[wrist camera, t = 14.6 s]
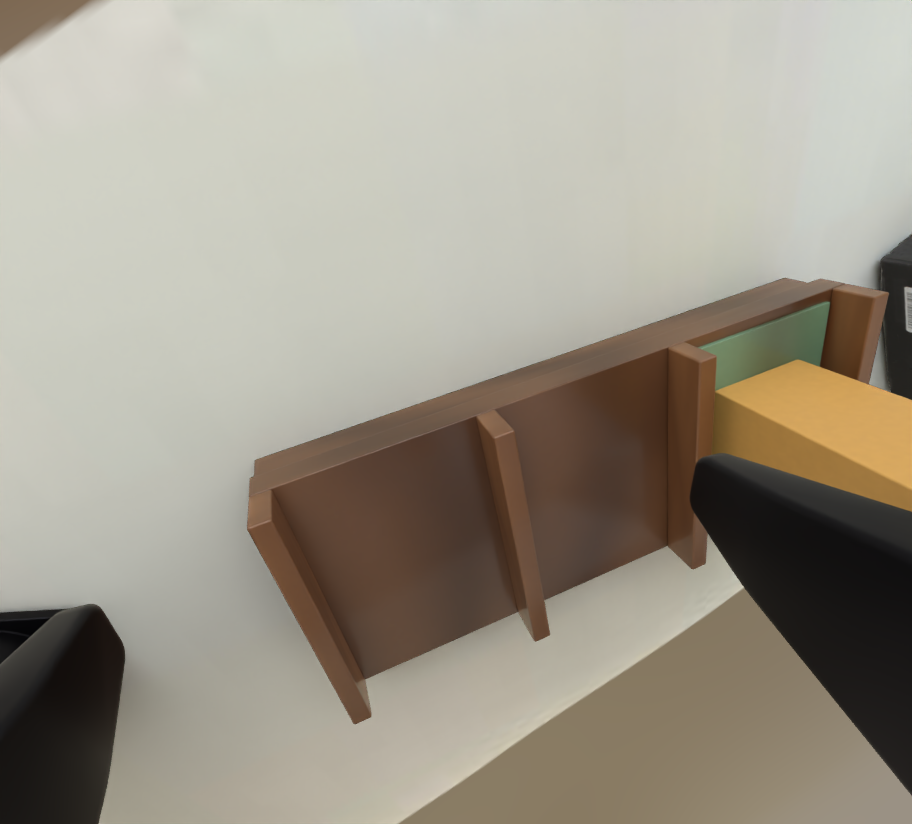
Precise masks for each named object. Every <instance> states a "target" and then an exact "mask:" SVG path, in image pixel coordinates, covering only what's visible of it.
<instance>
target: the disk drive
mask: <svg viewBox="0 0 912 824" xmlns="http://www.w3.org/2000/svg"><path fill="white" fill-rule="evenodd" d="M881 267H882V268H881V291H884V292H888V293H889V295H888V300H887V304H886V309H885V313H884V318H883V321H884V323H883V325H884V335H885V351H886V364H887V375H888V382H889V385H890V386H889V388H890V390H891V393H894V394H896V395H899V396H902V397H905V398H907V399H910V400H912V235H910V236H909V237H908V238H907V239H906V240H904V241H903V242H901V243H899V245H898V246H897V247H896V248H894V249H893V250H892V251H891V253H890V254H887V255H886V256H884V257H883V258H882V259H881Z"/></svg>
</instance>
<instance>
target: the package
mask: <svg viewBox="0 0 912 824" xmlns="http://www.w3.org/2000/svg"><path fill="white" fill-rule="evenodd" d="M717 453H726V454H730V455H733V456H736V457H740V458H743V459H746V460H749V461H752V462H755V463H759V464H762V465H765V466H768V467H771V468H775V469H778V470H781V471H784V472H787V473H790V474H794V475H797V476H800V477H803V478H806V479H809V480H813V481H816V482H819V483H822V484H825V485H829V486H832V487H835V488H838V489H841V490H844V491H848V492H851V493H854V494H857V495H860V496H864V497H867V498H870V499H873V500H876V501H879V502H883V503H886V504H889V505H892V506H895V507H899V508H902V509H905V510H908V511H911V512H912V400H910V399H907V398H905V397H902V396H899V395H896V394H894V393H891V392H888V391H885V390H882V389H880V388H877V387H874V386H871V385H869V384H866V383H863V382H860V381H857V380H855V379H852V378H849V377H846V376H843V375H841V374H838V373H835V372H832V371H830V370H827V369H824V368H821V367H818V366H816V365H813V364H810V363H807V362H805V361H802V360H799V359H797V360H794V361H792V362H789V363H787V364H784V365H781V366H779V367H776V368H774V369H771V370H768V371H766V372H763V373H760V374H758V375H755V376H753V377H750V378H747V379H745V380H742V381H740V382H737V383H734V384H732V385H729V386H727V387H724V388H721V389H719V390H716V391H715V403H714V421H713V440H712V455H713V454H717Z"/></svg>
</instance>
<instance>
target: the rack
mask: <svg viewBox="0 0 912 824" xmlns="http://www.w3.org/2000/svg"><path fill="white" fill-rule="evenodd" d="M888 295H889V293H888V292H884V291H879V290H874V289H869V288H864V287H859V286H854V285H849V284H845V283H840V282H835V281H830V280H825V279H818V280H815V281H812V282H809V283H806V282H801V281H797V280H792V279H787V278H783V279H780V280H777V281H774V282H772V283H769V284H766V285H763V286H760V287H757V288H754V289H751V290H748V291H745V292H742V293H740V294H737V295H734V296H731V297H728V298H725V299H722V300H719V301H716V302H713V303H710V304H708V305H705V306H702V307H699V308H696V309H693V310H690V311H687V312H684V313H681V314H678V315H676V316H673V317H670V318H667V319H664V320H661V321H658V322H655V323H652V324H649V325H646V326H644V327H641V328H638V329H635V330H632V331H629V332H626V333H623V334H620V335H617V336H614V337H612V338H609V339H606V340H603V341H600V342H597V343H594V344H591V345H588V346H585V347H582V348H580V349H577V350H574V351H571V352H568V353H565V354H562V355H559V356H556V357H553V358H550V359H548V360H545V361H542V362H539V363H536V364H533V365H530V366H527V367H524V368H521V369H518V370H516V371H513V372H510V373H507V374H504V375H501V376H498V377H495V378H492V379H489V380H486V381H484V382H481V383H478V384H475V385H472V386H469V387H466V388H463V389H460V390H457V391H454V392H452V393H449V394H446V395H443V396H440V397H437V398H434V399H431V400H428V401H425V402H422V403H420V404H417V405H414V406H411V407H408V408H405V409H402V410H399V411H396V412H393V413H390V414H388V415H385V416H382V417H379V418H376V419H373V420H370V421H367V422H364V423H361V424H358V425H356V426H353V427H350V428H347V429H344V430H341V431H338V432H335V433H332V434H329V435H326V436H324V437H321V438H318V439H315V440H312V441H309V442H306V443H303V444H300V445H297V446H294V447H292V448H289V449H286V450H283V451H280V452H277V453H274V454H271V455H268V456H265V457H262V458H260V459H257V460H255V466H254V477H252V478H250V484H249V506H248V522H247V530H248V532H249V534H250V536H251V537H252V539H253V541H254V543H255V545H256V546H257V548H258V550H259V552H260V554H261V556H262V557H263V559H264V561H265V563H266V565H267V567H268V568H269V570H270V572H271V574H272V576H273V578H274V579H275V581H276V583H277V585H278V587H279V589H280V590H281V592H282V594H283V596H284V598H285V599H286V601H287V603H288V605H289V607H290V609H291V610H292V612H293V614H294V616H295V618H296V620H297V621H298V623H299V625H300V627H301V629H302V631H303V632H304V634H305V636H306V638H307V640H308V641H309V643H310V645H311V647H312V649H313V651H314V652H315V654H316V656H317V658H318V660H319V662H320V663H321V665H322V667H323V669H324V671H325V673H326V674H327V676H328V678H329V680H330V682H331V684H332V685H333V687H334V689H335V691H336V693H337V694H338V696H339V698H340V700H341V702H342V704H343V705H344V707H345V709H346V711H347V713H348V715H349V716H350V718H351V720H352V722H353V724H357V723H359V722H362V721H364V720H366V719H368V718H370V717H371V715H372V714H371V709H370V703H369V698H368V693H367V687H366V682H365V679H367V678H370V677H372V676H374V675H376V674H379V673H381V672H383V671H385V670H388V669H390V668H392V667H394V666H397V665H399V664H401V663H403V662H406V661H408V660H410V659H412V658H415V657H417V656H419V655H421V654H424V653H426V652H428V651H431V650H433V649H435V648H437V647H440V646H442V645H444V644H446V643H449V642H451V641H453V640H455V639H458V638H460V637H462V636H464V635H467V634H469V633H471V632H473V631H476V630H478V629H480V628H482V627H485V626H487V625H489V624H492V623H494V622H496V621H498V620H501V619H503V618H505V617H507V616H510V615H512V614H514V613H516V612H518V613H519V615H520V617H521V618H522V620H523V622H524V624H525V625H526V627H527V629H528V631H529V633H530V634H531V636H532V638H533V640H534V641H535V642H536V641H539V640H541V639H543V638H545V637H547V636H549V635H550V631H549V625H548V619H547V613H546V608H545V602H544V600H546V599H548V598H550V597H553V596H555V595H557V594H559V593H562V592H564V591H566V590H568V589H571V588H573V587H575V586H577V585H580V584H582V583H584V582H586V581H589V580H591V579H593V578H595V577H598V576H600V575H602V574H605V573H607V572H609V571H611V570H614V569H616V568H618V567H620V566H623V565H625V564H627V563H629V562H632V561H634V560H636V559H638V558H641V557H643V556H645V555H647V554H650V553H652V552H654V551H656V550H659V549H661V548H663V547H666V546H668V547H669V548H670V549H671V550H672V551H673V552H674V553H675V554H676V555H677V556H678V557H680V558H681V559H682V560H683V561H684V562H685V563H686V564H687V565H688V566H689V567H690V568H691V569H696V568H698V567H700V566H702V565H704V564H705V563H706V550H707V531H706V530H705V528H704V527H703V525H702V524H701V522H700V521H699V519H698V518H697V516H696V515H695V513H694V512H693V510H692V508H691V505H690V499H689V496H690V490H691V485H692V480H693V475H694V470H695V466H696V463H697V461H698V460H699V459H700V458H702V457H705V456H709V455H712V440H713V421H714V403H715V391H716V390H719V389H721V388H724V387H727V386H729V385H732V384H734V383H737V382H740V381H742V380H745V379H747V378H750V377H753V376H755V375H758V374H760V373H763V372H766V371H768V370H771V369H774V368H776V367H779V366H781V365H784V364H787V363H789V362H792V361H794V360H797V359H799V360H802V361H805V362H807V363H810V364H813V365H816V366H818V367H821V368H824V369H827V370H830V371H832V372H835V373H838V374H841V375H843V376H846V377H849V378H852V379H855V380H857V381H860V382H863V383H866V384H869V380H870V376H871V371H872V367H873V362H874V358H875V353H876V349H877V345H878V340H879V336H880V331H881V327H882V322H883V318H884V313H885V309H886V304H887V300H888Z"/></svg>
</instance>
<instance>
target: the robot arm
mask: <svg viewBox="0 0 912 824" xmlns="http://www.w3.org/2000/svg"><path fill="white" fill-rule="evenodd" d="M689 499H690V505H691V508H692V510H693V512H694V513H695V515H696V516H697V518H698V519H699V521H700V522H701V524H702V525H703V527H704V528H705V530H706V531H707V533H708V534H709V536H710V537H711V539H712V540H713V542H714V543H715V545H716V546H717V548H718V549H719V551H720V552H721V554H722V555H723V557H724V559H725V560H726V562H727V563H728V565H729V566H730V568H731V569H732V571H733V572H734V574H735V575H736V576H737V578H738V579H739V581H740V582H741V584H742V585H743V586H744V588H745V589H746V590H747V592H748V593H749V594H750V596H751V597H752V598H753V600H754V601H755V602H756V603H757V605H758V606H759V607H760V608H761V610H762V611H763V612H764V613H765V614H766V616H767V617H768V618H769V619H770V621H771V622H772V623H773V624H774V626H775V627H776V628H777V629H778V631H779V632H780V633H781V634H782V636H783V637H784V638H785V639H786V641H787V642H788V643H789V644H790V646H791V647H792V648H793V649H794V650H795V652H796V653H797V654H798V655H799V657H800V658H801V659H802V660H803V661H804V663H805V664H806V665H807V666H808V668H809V669H810V670H811V671H812V673H813V674H814V675H815V676H816V678H817V679H818V680H819V681H820V683H821V684H822V685H823V686H824V688H826V690H827V691H828V692H829V694H830V695H831V696H832V697H833V699H834V700H835V701H836V702H837V704H838V705H839V706H840V707H841V709H842V710H843V711H844V712H845V713H846V715H847V716H848V717H849V718H850V720H851V721H852V722H853V723H854V725H855V726H856V727H857V728H858V730H859V731H860V732H861V733H862V735H863V736H864V737H865V738H866V739H867V741H868V742H869V743H870V744H871V745H872V747H873V748H874V749H875V751H876V752H877V753H878V754H879V755H880V757H881V758H882V759H883V761H884V762H885V763H886V764H887V766H888V767H889V768H890V769H891V770H892V772H893V773H894V774H895V775H896V777H897V778H898V779H899V780H900V782H901V783H902V784H903V785H904V787H905V788H906V789H907V790H908V792H909V793H910V794H911V795H912V512H911V511H908V510H905V509H902V508H899V507H895V506H892V505H889V504H886V503H883V502H879V501H876V500H873V499H870V498H867V497H864V496H860V495H857V494H854V493H851V492H848V491H844V490H841V489H838V488H835V487H832V486H829V485H825V484H822V483H819V482H816V481H813V480H809V479H806V478H803V477H800V476H797V475H794V474H790V473H787V472H784V471H781V470H778V469H775V468H771V467H768V466H765V465H762V464H759V463H755V462H752V461H749V460H746V459H743V458H740V457H736V456H733V455H730V454H726V453H717V454H713V455H709V456H705V457H702V458H700V459H699V460H698V461H697V463H696V466H695V470H694V475H693V480H692V485H691V490H690V496H689ZM124 664H125V650H124V646H123V643H122V641H121V639H120V637H119V636H118V634H117V633H116V631H115V629H114V628H113V626H112V625H111V623H110V621H109V620H108V618H107V617H106V615H105V613H104V612H103V610H102V609H101V608H100V607H99V606H97V605H95V604H87V605H83V606H79V607H75V608H71V609H61V610H43V611H26V612H8V613H0V824H98V823H99V819H100V814H101V810H102V806H103V802H104V797H105V793H106V788H107V784H108V778H109V772H110V766H111V760H112V752H113V745H114V737H115V730H116V723H117V715H118V708H119V701H120V693H121V686H122V678H123V671H124Z"/></svg>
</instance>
